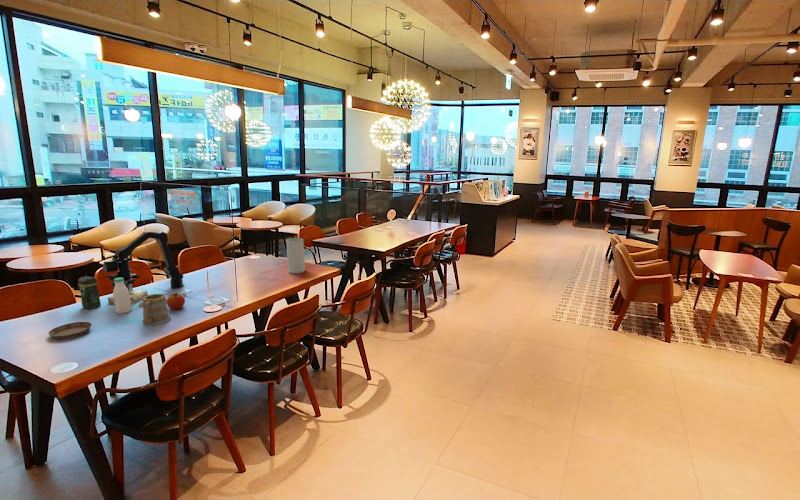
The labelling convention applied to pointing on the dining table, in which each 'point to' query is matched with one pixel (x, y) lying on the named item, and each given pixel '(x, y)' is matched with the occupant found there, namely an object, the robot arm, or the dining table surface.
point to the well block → (132, 296)
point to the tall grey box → (130, 289)
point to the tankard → (155, 309)
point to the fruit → (175, 301)
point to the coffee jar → (89, 292)
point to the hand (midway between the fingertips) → (127, 293)
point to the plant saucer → (70, 330)
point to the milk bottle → (121, 297)
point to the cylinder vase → (295, 255)
